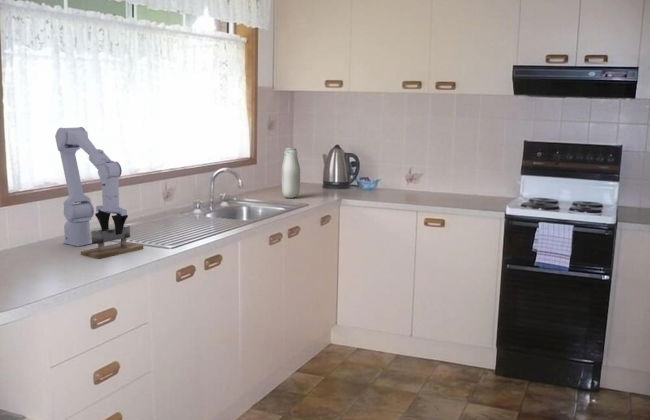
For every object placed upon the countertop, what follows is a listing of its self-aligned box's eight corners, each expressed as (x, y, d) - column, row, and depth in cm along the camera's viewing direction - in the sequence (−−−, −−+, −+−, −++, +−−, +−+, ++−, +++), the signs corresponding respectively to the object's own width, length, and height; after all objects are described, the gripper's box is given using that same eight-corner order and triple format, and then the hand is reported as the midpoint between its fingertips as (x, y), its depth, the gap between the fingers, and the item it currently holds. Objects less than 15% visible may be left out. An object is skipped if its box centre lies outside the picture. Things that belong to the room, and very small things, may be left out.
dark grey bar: (89, 242, 246) (89, 231, 245) (125, 235, 259) (125, 224, 258) (96, 244, 243) (96, 233, 243) (132, 236, 256) (132, 226, 256)
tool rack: (80, 254, 247) (80, 242, 246) (125, 244, 263) (125, 233, 262) (98, 258, 241) (98, 246, 240) (143, 248, 257) (143, 236, 257)
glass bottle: (292, 195, 391) (292, 146, 386) (303, 198, 383) (303, 147, 378) (277, 197, 384) (278, 147, 380) (289, 199, 377) (289, 148, 372)
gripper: (88, 195, 249) (90, 232, 252) (114, 199, 241) (116, 237, 244) (104, 192, 255) (105, 229, 257) (130, 196, 247) (132, 234, 249)
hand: (112, 232), depth 251 cm, fingers open, 7 cm apart
